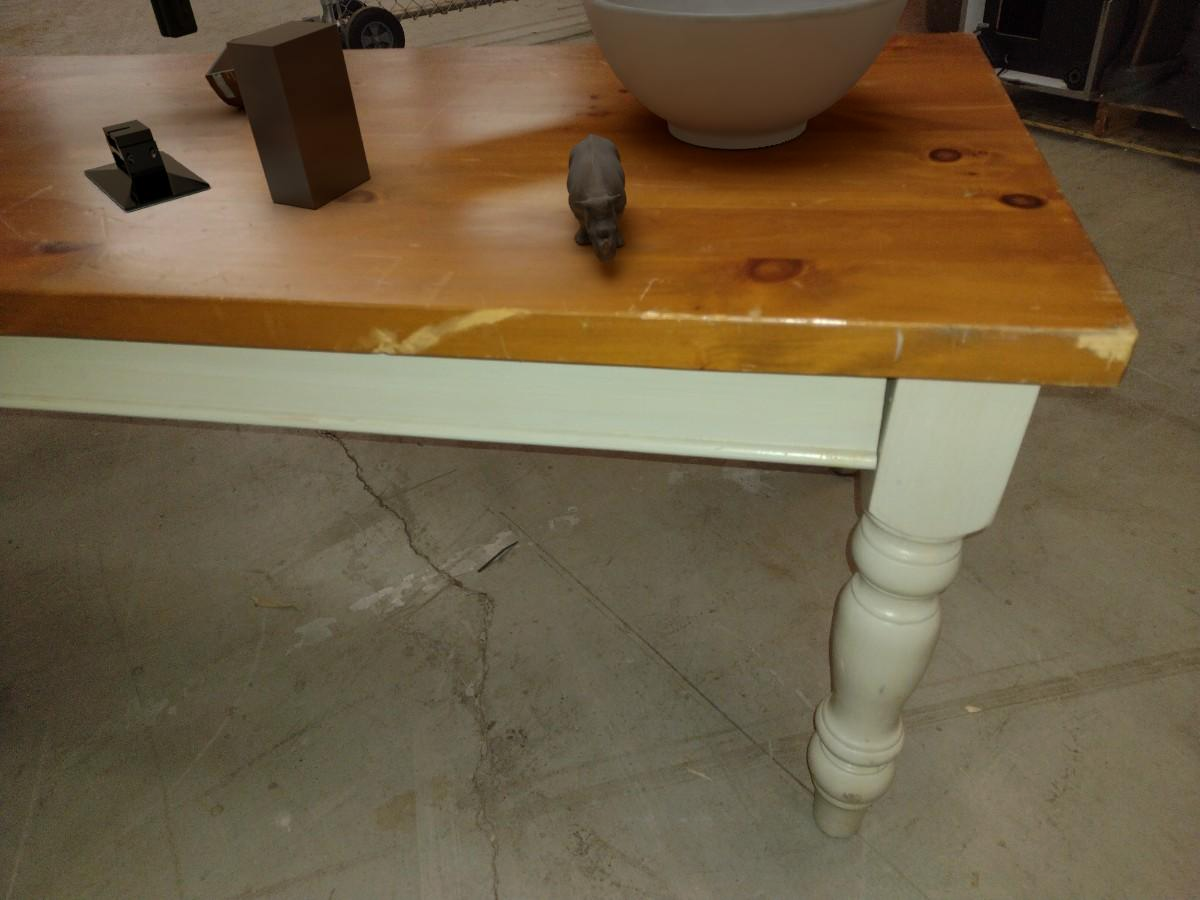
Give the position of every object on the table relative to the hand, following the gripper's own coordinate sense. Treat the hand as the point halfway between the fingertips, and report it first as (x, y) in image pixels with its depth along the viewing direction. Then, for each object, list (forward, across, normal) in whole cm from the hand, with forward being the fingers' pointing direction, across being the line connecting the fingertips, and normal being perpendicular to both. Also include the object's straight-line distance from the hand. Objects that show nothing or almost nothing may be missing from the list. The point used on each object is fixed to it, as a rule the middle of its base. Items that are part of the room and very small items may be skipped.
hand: (180, 34), depth 85 cm
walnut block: (+8, +26, -12) cm, 30 cm away
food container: (+6, +1, +4) cm, 7 cm away
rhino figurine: (+8, +52, -13) cm, 55 cm away
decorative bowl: (+7, +54, +13) cm, 55 cm away
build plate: (+8, +10, -16) cm, 20 cm away
